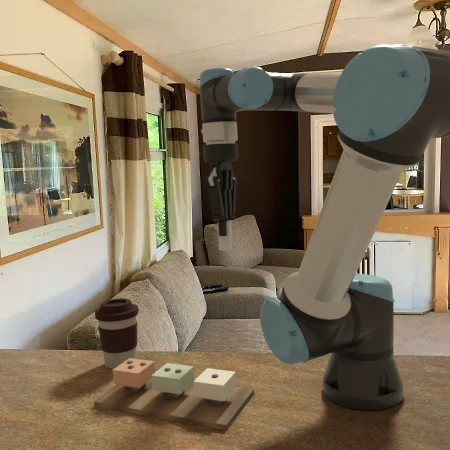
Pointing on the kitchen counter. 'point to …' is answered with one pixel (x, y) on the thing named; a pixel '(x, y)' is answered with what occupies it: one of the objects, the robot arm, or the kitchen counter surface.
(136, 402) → the key board
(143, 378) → the tile three
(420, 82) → the robot arm
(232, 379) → the tile one
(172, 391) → the tile two
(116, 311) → the coffee cup
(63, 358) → the kitchen counter surface
